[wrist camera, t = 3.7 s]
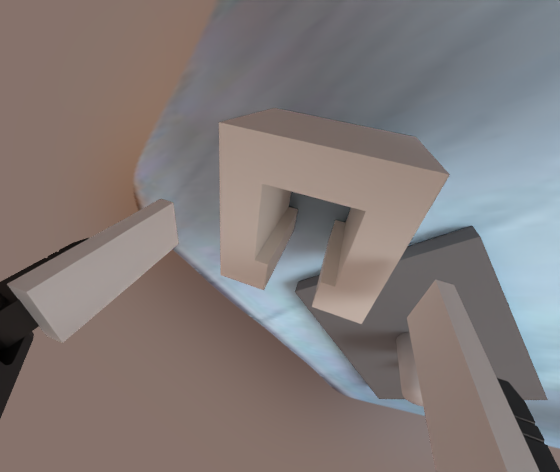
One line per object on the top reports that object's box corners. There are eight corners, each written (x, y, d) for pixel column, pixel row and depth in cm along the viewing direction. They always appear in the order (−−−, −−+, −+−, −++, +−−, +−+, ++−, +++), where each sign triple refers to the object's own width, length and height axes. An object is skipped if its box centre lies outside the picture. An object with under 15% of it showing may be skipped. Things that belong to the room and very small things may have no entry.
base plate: (298, 281, 26) (280, 332, 21) (472, 225, 17) (516, 286, 12) (378, 386, 32) (380, 446, 26) (538, 383, 23) (587, 470, 18)
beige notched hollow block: (274, 107, 17) (219, 122, 11) (415, 136, 15) (449, 174, 9) (261, 221, 23) (220, 274, 17) (363, 251, 21) (361, 324, 15)
